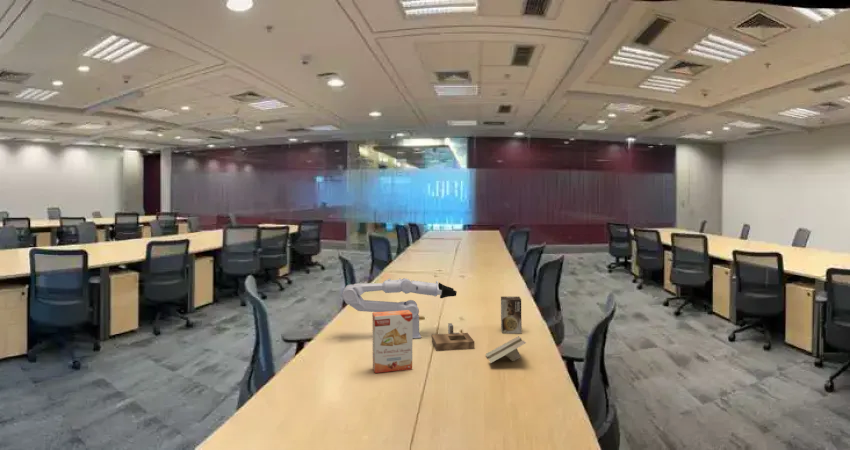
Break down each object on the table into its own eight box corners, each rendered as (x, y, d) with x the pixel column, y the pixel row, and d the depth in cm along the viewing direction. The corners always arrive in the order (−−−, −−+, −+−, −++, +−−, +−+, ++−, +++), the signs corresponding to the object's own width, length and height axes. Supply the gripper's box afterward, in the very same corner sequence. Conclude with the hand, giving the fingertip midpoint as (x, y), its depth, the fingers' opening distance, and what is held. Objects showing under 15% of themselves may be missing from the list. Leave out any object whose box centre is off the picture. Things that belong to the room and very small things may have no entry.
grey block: (450, 339, 187) (449, 325, 186) (448, 336, 190) (448, 323, 190) (460, 338, 187) (460, 325, 187) (458, 335, 191) (458, 322, 191)
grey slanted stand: (506, 381, 151) (537, 353, 151) (490, 363, 152) (520, 335, 152) (499, 370, 167) (527, 345, 168) (485, 354, 168) (512, 328, 169)
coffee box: (520, 329, 200) (520, 296, 199) (521, 333, 193) (521, 299, 192) (500, 329, 200) (500, 296, 200) (501, 333, 194) (501, 299, 193)
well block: (436, 350, 171) (436, 343, 171) (431, 341, 183) (431, 334, 183) (474, 348, 174) (474, 341, 174) (467, 339, 186) (467, 332, 185)
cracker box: (374, 374, 148) (374, 316, 147) (372, 368, 154) (371, 311, 153) (413, 369, 152) (412, 313, 151) (409, 363, 158) (408, 309, 157)
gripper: (428, 281, 184) (459, 285, 185) (425, 277, 198) (453, 281, 199) (426, 297, 184) (456, 301, 185) (423, 292, 198) (451, 296, 199)
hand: (454, 292), depth 192 cm, fingers open, 7 cm apart
